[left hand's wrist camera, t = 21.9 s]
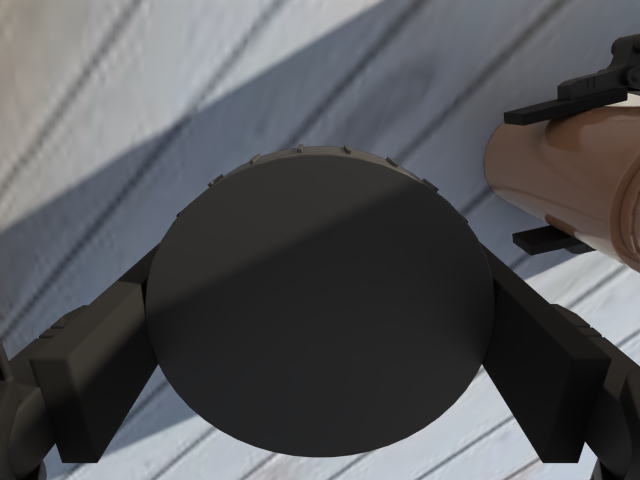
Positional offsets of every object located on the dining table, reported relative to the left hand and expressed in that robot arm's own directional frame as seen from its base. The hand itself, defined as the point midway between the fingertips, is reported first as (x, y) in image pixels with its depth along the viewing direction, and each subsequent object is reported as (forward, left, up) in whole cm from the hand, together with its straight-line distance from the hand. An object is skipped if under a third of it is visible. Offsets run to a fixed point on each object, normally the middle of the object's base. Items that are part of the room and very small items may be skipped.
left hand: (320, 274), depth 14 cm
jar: (+9, +16, -21) cm, 28 cm away
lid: (0, 0, +3) cm, 3 cm away
